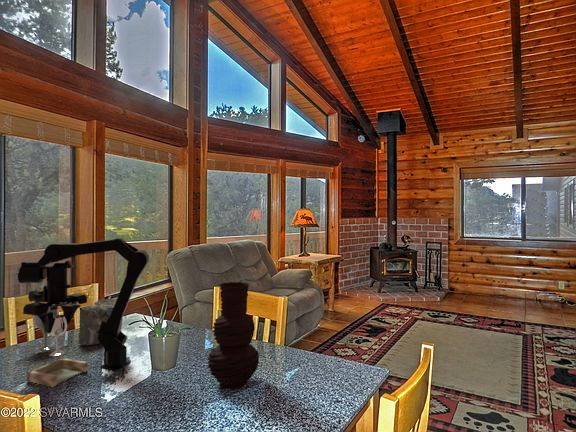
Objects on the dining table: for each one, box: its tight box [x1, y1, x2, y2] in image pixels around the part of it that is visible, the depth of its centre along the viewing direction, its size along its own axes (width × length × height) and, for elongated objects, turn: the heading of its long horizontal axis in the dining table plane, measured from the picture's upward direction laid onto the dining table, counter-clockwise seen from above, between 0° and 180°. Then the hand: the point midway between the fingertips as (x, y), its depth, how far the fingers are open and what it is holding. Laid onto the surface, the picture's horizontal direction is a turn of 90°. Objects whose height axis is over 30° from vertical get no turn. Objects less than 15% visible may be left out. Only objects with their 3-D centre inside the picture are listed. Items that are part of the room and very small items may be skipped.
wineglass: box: [48, 314, 68, 357], centre depth 125 cm, size 6×6×12 cm
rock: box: [77, 298, 117, 346], centre depth 157 cm, size 21×16×10 cm
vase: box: [207, 281, 260, 391], centre depth 116 cm, size 15×15×30 cm
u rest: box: [26, 357, 89, 388], centre depth 120 cm, size 10×12×3 cm
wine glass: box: [33, 306, 60, 351], centre depth 144 cm, size 8×8×15 cm
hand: (57, 330), depth 125 cm, fingers closed on wineglass, 6 cm apart
